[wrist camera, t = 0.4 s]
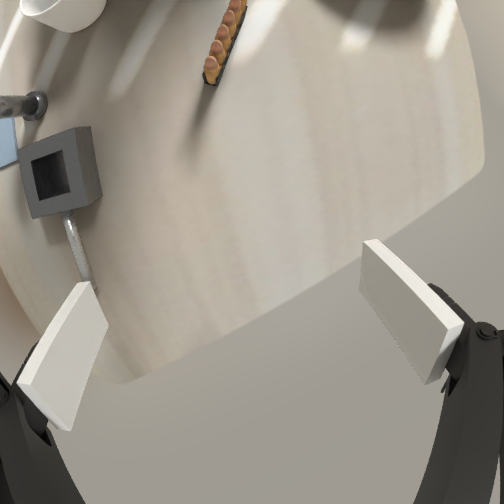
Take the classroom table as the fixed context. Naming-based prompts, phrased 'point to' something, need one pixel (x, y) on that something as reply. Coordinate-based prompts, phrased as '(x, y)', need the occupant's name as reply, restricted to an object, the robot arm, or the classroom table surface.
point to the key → (24, 106)
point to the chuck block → (62, 183)
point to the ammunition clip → (224, 42)
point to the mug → (63, 12)
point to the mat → (7, 142)
